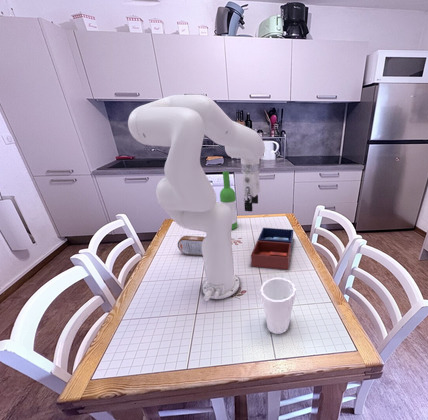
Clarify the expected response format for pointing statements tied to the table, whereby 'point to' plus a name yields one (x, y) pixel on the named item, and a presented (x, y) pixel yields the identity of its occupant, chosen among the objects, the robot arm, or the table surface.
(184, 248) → the tin
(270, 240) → the blue bin
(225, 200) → the wine bottle
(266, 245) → the red bin
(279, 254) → the red spoon
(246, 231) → the table surface
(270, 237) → the blue spoon
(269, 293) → the foam cup
